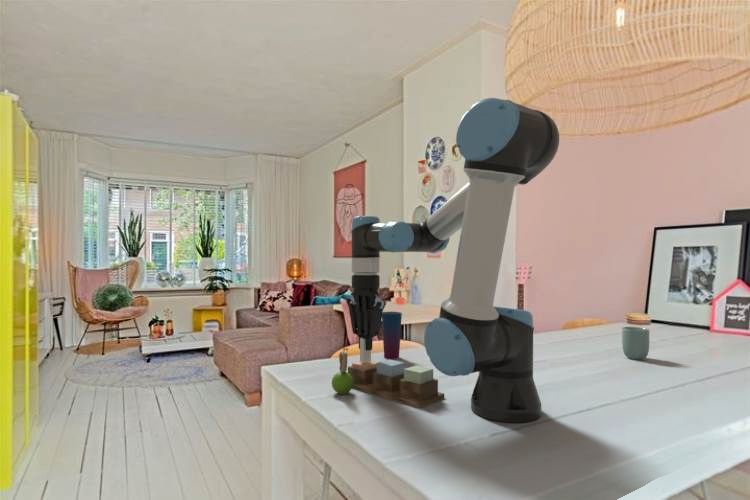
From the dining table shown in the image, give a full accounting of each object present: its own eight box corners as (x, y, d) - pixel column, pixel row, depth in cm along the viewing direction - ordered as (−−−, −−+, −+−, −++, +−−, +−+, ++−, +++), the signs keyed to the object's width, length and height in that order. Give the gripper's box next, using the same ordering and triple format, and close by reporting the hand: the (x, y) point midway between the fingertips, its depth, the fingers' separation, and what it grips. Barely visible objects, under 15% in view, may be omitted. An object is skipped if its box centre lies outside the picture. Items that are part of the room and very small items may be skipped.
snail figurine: (334, 398, 108) (334, 349, 108) (329, 391, 114) (330, 343, 115) (356, 397, 110) (356, 347, 110) (350, 389, 116) (350, 342, 116)
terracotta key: (378, 374, 121) (378, 362, 121) (365, 377, 117) (365, 366, 117) (365, 370, 124) (365, 359, 124) (352, 374, 121) (352, 363, 121)
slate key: (404, 374, 115) (404, 362, 115) (391, 378, 111) (391, 366, 111) (389, 370, 118) (389, 359, 118) (376, 374, 115) (376, 362, 115)
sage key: (433, 381, 109) (433, 368, 109) (420, 385, 105) (420, 372, 105) (416, 377, 112) (416, 365, 112) (404, 381, 108) (404, 369, 108)
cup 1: (379, 358, 149) (379, 313, 149) (384, 354, 156) (384, 311, 156) (398, 360, 147) (399, 314, 147) (403, 355, 154) (403, 311, 154)
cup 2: (617, 357, 153) (617, 327, 153) (632, 354, 156) (632, 326, 157) (639, 362, 146) (638, 331, 146) (654, 359, 149) (654, 329, 149)
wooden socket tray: (444, 397, 109) (444, 378, 109) (419, 408, 102) (419, 387, 102) (367, 377, 127) (367, 360, 127) (341, 384, 120) (341, 367, 120)
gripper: (393, 274, 119) (392, 363, 119) (358, 272, 128) (358, 355, 128) (373, 275, 114) (373, 368, 114) (338, 273, 123) (338, 360, 122)
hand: (365, 361), depth 121 cm, fingers closed
